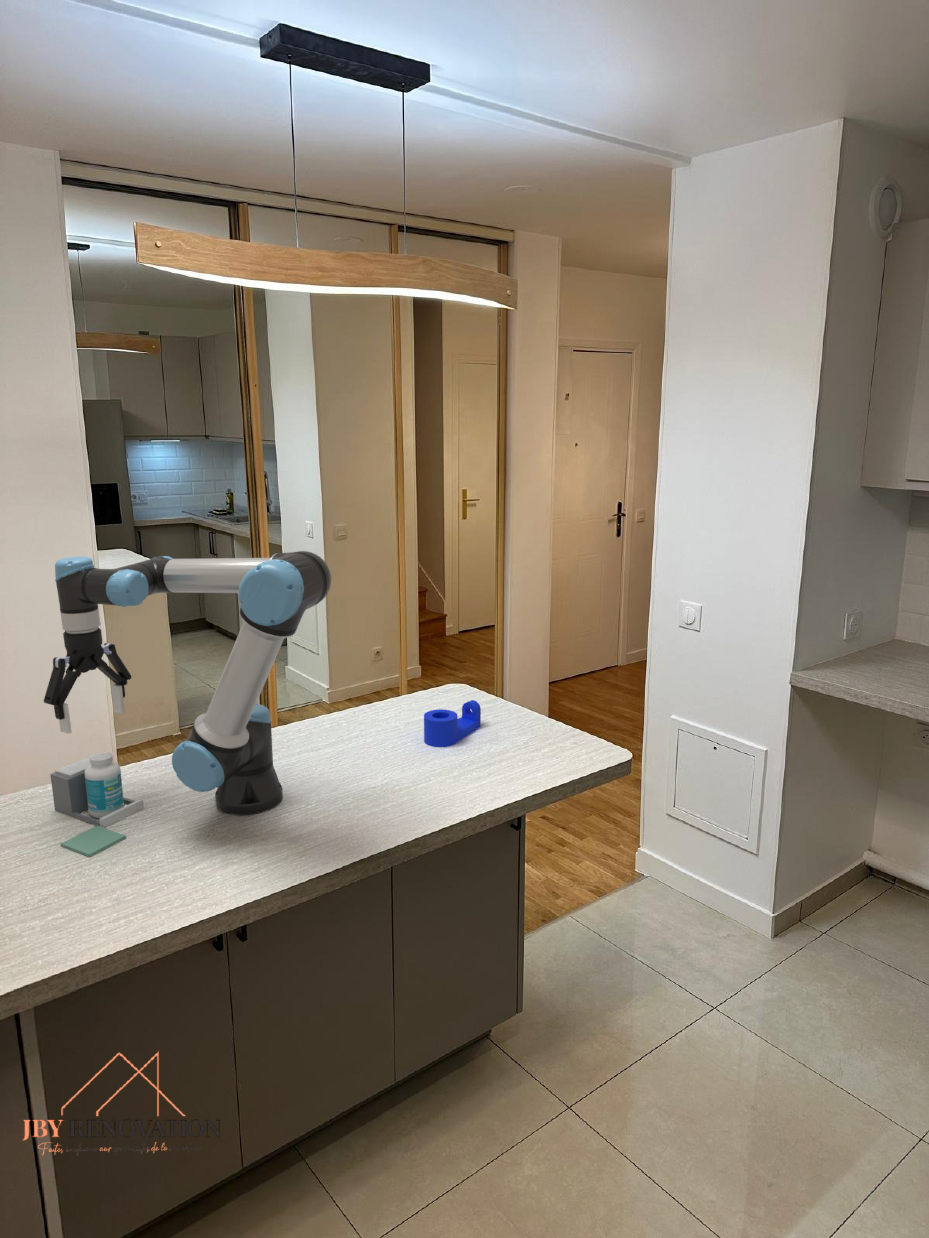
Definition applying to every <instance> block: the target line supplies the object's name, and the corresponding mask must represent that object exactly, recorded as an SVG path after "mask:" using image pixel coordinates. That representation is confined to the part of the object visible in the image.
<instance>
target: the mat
mask: <svg viewBox="0 0 929 1238" xmlns="http://www.w3.org/2000/svg"><path fill="white" fill-rule="evenodd" d="M125 839H127V835H126V834H122V833H120V832H117V831H115V830H111V829H110V828H109V829H108V828H106V827H105V828H104V827H101V826H98V825H97V826H96V825H94V826H93V827H91V828H90V829H87V830H85V831H83V832H81V833H80V834H76V835H75V836H73V837H71V838H69V839H66V840H65V841H63V842H61V843H60V847H63V848H64V849H66V850H70V851H72V852H75V853H77V854H80V855H82V856H86V857H88V858H91V857H94V856H95V855H96V854H98V853H100V852H102V851H104V850H106V849H108V848H110V847H112V846H113V845H116V844H117V843H119V842H121V841H123V840H125Z"/></svg>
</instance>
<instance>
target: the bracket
mask: <svg viewBox="0 0 929 1238" xmlns="http://www.w3.org/2000/svg"><path fill="white" fill-rule="evenodd" d="M481 710H482V708H481V706H480V704H479V702H478V701H477V700H474V699H471V700H469V701H466V702H465V703H463V704H462V706H461V717H458V713H457V712H455V711H453V710H450V709H441V708H439V709H432V710H428V711H426V712H425V713H424V714H423V741H424V744H426V745H427V746H428V747H433V748H447V747H448V748H449V747H453V746H454V745H457V743H459V742H461V741H462V740H464V739H465V738H466V737H467V736H469V735H470V734H472V733H474V732H475V731H477V730H478V729H480V728H481V721H482V720H481V719H482V717H481V715H482V713H481V712H482V711H481Z"/></svg>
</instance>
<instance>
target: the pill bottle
mask: <svg viewBox="0 0 929 1238" xmlns="http://www.w3.org/2000/svg"><path fill="white" fill-rule="evenodd" d="M90 756H91V757H90V763H91V765H90V766H88V767H87V768H86V770H85V782H86V792H87V801H88V810H87V811H88V814H89V816H90V817H92V818H95V819H100V818H102V817H104V816H106V815H108V814H110V813H112V812H114V811H116V810H118V809H120V808H122V807H124V806H125V804H124V800H123V797H124V793H123V791H124V790H123V783H122V772H121V766H120V764H118V763H117V762H115V761H114V757H113V753H111V752H105V751H104V752H97V753H94V754H92V755H90Z"/></svg>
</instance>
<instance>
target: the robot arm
mask: <svg viewBox="0 0 929 1238" xmlns="http://www.w3.org/2000/svg"><path fill="white" fill-rule="evenodd" d="M54 573H55V578H54V581H55V584H56V589H57V595H58V603H59V604H58V605H59V612H60V619H61V620H60V621H61V626H62V630H64V631H63V633H62V635H63V636H62V637H63V641H64V643H63V644H64V648H65V650H66V656H65V657H57V656H55V657H54V658H53V659H52V671H51V674H50V678H49V682H48V683H47V684H48V685H47V687H46V691H45V695H44V698H43V703H44V704H47V705H52V706H53V709H54V717H55V718H56V719H57V720H58V722H59V723H58V724H59V731H60V732H61V733H63V734H64V733H65V734H69V735H70V734H71V733H73V732H72V724H71V718H70V711H69V709H70V708H69V704H68V703H67V702H66V700H67V698H68V696H69V694H70V693H71V690H72V689H73V687H74V685H75V683H76V681H77V679H78V678H80V677H81V675H82V674H84V673H88V672H90V671H94V670H97V669H98V670H99V671H100V672H101V673H102V674H104V675H105V676H106V677H107V678H108V679H110V681H112V682H113V684H111V685H110V688H111V697H112V698H111V699H112V706H113V712H114V713H117V714H121V715H124V714H125V710H126V709H125V703H124V698H126V691H125V690H126V687H125V686H126V685H128V681H129V680H131V679H132V675H131V673H130V672H129V669H128V668H127V666H126V665H125V664H124V662H123V661H122V659H121V658H120V656H119V654H118V653H117V649H116V645H115V644H113V643H108V642H105V643H103V636H102V629H101V628H100V627H101V624H102V623H101V618H100V610H99V605H106V606H117V607H123V608H125V607H136V606H137V607H138V606H140V605H141V604H143V601H145V599H147V597H148V596H152V595H155V594H170V593H173V594H174V593H178V594H179V593H184V594H185V593H193V594H194V593H195V594H196V593H199V594H201V593H202V594H204V593H205V594H206V593H208V594H213V593H214V594H238V595H237V597H238V601H240V608H239V613H238V614H239V617H240V619H241V620H242V625H241V627H240V629H239V632H238V634H237V637H236V639H235V642H234V645H233V647H232V649H231V651H230V654H229V656H228V658H227V659H228V660H227V662H226V663H225V666H224V668H223V671H222V674H221V676H220V679H219V681H218V683H217V686H216V689H215V691H214V692H213V693H214V694H213V696H212V698H211V701H210V703H209V705H208V707H207V710H206V712H204V713H202V714H199V715H198V716H197V717H196V718H195V720H194V722H193V724H192V727H191V730H190V732H189V734H188V737H187V739H186V740H184V741H182V742H180V743H179V744H178V745H177V746H176V747H175V749H174V750H173V751H172V754H171V765H172V768H173V771H174V772H175V773H176V776H177V778H178V779H179V781H180V782H181V783H182V784H184V786H186V787H187V788H189V789H190V790H193V791H196V792H200V793H206V792H211V791H212V790H215V789H216V788H217V789H216V790H215V793H214V798H215V799H214V800H215V806H216V808H217V809H218V810H219V811H220V812H222V813H225V814H229V815H232V816H235V815H236V816H249V815H255V814H260V813H265V812H266V811H269V810H272V809H273V808H275V807H277V806H278V805H280V804H281V803H282V800H283V797H284V796H283V795H284V794H283V786H282V784H281V782H280V780H279V777H278V775H277V772H276V770H275V767H274V757H273V756H274V755H273V735H272V720H271V713H270V709H269V708H267V707H266V706H265V705H264V704H259V703H257V702H258V701H259V697H260V696H261V693H262V691H263V688H264V687H265V684H266V682H267V680H268V677H269V676H270V672H271V670H272V668H273V665H274V663H275V661H276V658H277V656H278V653H279V652H280V649H281V647H282V644H283V642H284V639H286V638H289V637H290V638H291V637H292V636H294V635H295V633H296V632H297V629H298V627H299V625H300V622H301V620H302V618H303V616H304V613H306V610H308V609H311V608H312V607H314V606H316V605H318V604H319V603H321V602H322V601H323V600H325V598H326V597H327V595H328V594H329V591H330V589H331V586H332V585H331V584H332V574H331V571H330V568H329V566H328V564H327V562H326V561H325V560H324V559H323V558H322V557H321V556H319V555H318V554H316V553H314V552H310V551H309V550H306V551H305V550H300V551H299V550H298V551H291V552H277V553H274V554H273V555H272V556H271V557H231V558H230V557H224V558H222V557H220V558H218V557H217V558H216V557H215V558H214V557H213V558H207V557H206V558H173V557H171V556H168V555H164V556H155V557H151V558H149V559H146V560H143V561H139V562H135V563H132V564H128V565H125V566H121V567H117V568H96V567H95V565H94V562H93V559H92V558H91V557H88V556H70V557H64V558H60V559H58V560H56V561H55V563H54ZM104 655H105V656H106V658H107V659H108V660H109V663H110V664H111V665H112V667H113V668H114V669H113V668H111V666H109V665H108V663H107V662H106V661H105V660H103V659H102V658H103V656H104ZM65 702H66V703H65Z"/></svg>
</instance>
